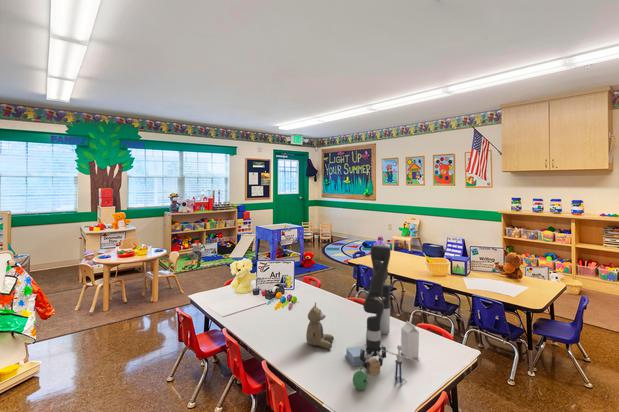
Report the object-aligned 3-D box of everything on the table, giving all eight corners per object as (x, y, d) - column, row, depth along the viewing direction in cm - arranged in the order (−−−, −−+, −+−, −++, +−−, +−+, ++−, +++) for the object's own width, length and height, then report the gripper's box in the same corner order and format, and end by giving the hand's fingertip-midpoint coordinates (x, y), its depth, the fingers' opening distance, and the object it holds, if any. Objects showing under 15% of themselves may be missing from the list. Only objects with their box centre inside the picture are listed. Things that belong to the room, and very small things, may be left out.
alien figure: (421, 385, 155) (422, 347, 154) (418, 391, 150) (419, 352, 149) (382, 372, 166) (383, 336, 165) (378, 377, 162) (379, 340, 161)
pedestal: (344, 356, 182) (345, 347, 182) (362, 353, 185) (362, 344, 185) (353, 366, 171) (353, 357, 171) (371, 363, 175) (371, 354, 174)
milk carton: (407, 359, 179) (408, 326, 178) (400, 352, 186) (401, 321, 185) (418, 357, 181) (419, 325, 180) (411, 351, 188) (412, 319, 187)
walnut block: (365, 368, 170) (366, 358, 169) (375, 367, 171) (375, 357, 171) (370, 374, 164) (370, 364, 164) (380, 372, 166) (380, 362, 166)
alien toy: (367, 395, 148) (367, 374, 147) (351, 391, 151) (351, 371, 150) (369, 386, 154) (370, 366, 154) (354, 382, 157) (354, 363, 157)
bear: (330, 354, 184) (331, 312, 183) (303, 351, 188) (304, 310, 186) (334, 337, 205) (335, 300, 203) (310, 335, 208) (310, 297, 206)
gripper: (381, 332, 172) (381, 361, 173) (358, 335, 168) (357, 365, 169) (389, 338, 165) (388, 368, 166) (364, 342, 161) (364, 373, 162)
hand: (373, 366), depth 167 cm, fingers open, 8 cm apart
